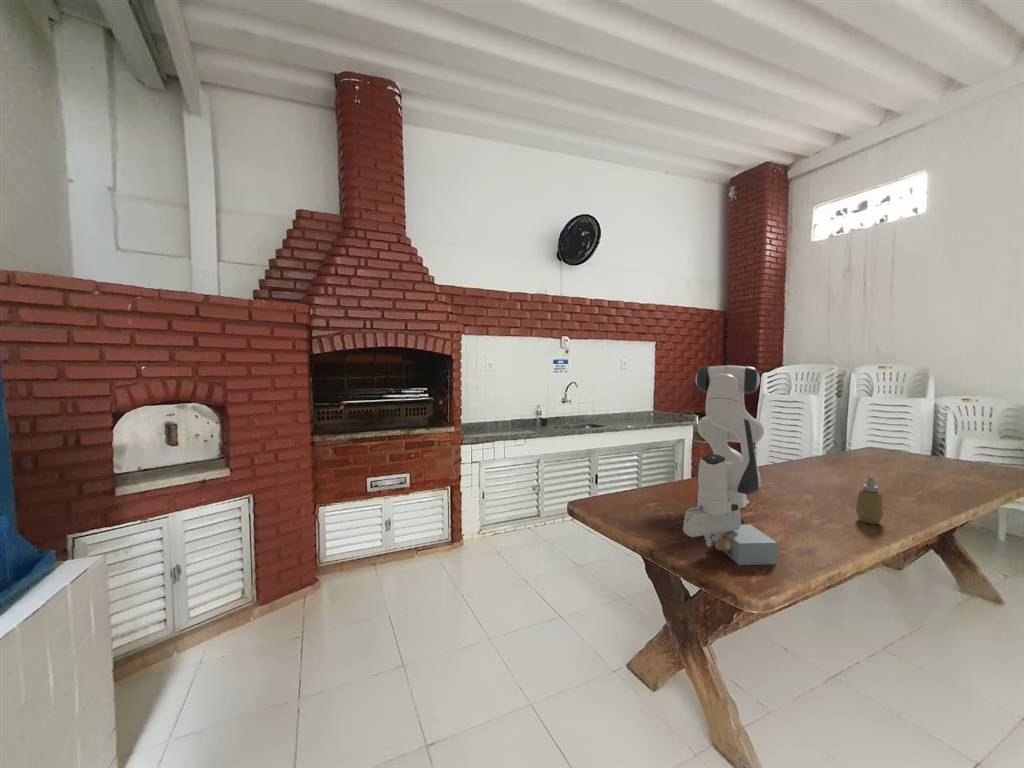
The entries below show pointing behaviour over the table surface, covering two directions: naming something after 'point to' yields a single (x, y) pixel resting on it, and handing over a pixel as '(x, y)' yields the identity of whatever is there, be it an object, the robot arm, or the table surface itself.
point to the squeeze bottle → (869, 503)
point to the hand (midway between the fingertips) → (711, 545)
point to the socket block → (751, 546)
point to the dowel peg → (723, 544)
